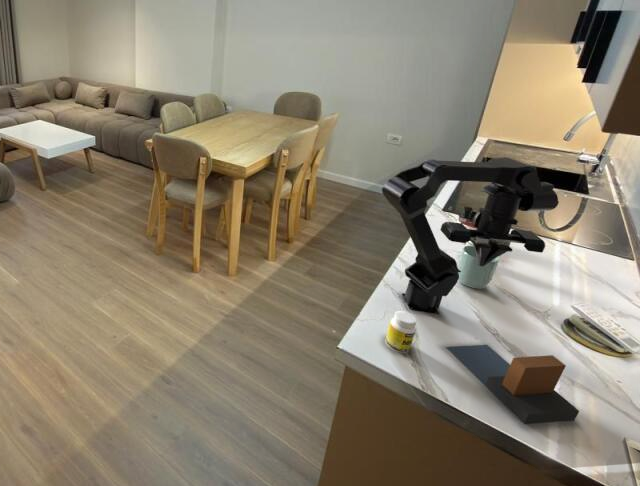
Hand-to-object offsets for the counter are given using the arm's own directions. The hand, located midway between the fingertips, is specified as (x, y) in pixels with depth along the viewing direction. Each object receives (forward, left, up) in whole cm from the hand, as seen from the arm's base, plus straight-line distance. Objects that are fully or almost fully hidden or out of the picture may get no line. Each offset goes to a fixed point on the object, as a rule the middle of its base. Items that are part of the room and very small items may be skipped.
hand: (480, 265), depth 99 cm
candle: (+16, +37, -12) cm, 42 cm away
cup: (+5, +10, -12) cm, 17 cm away
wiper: (-2, -30, -12) cm, 32 cm away
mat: (-4, -26, -12) cm, 29 cm away
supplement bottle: (-22, -21, -12) cm, 33 cm away
